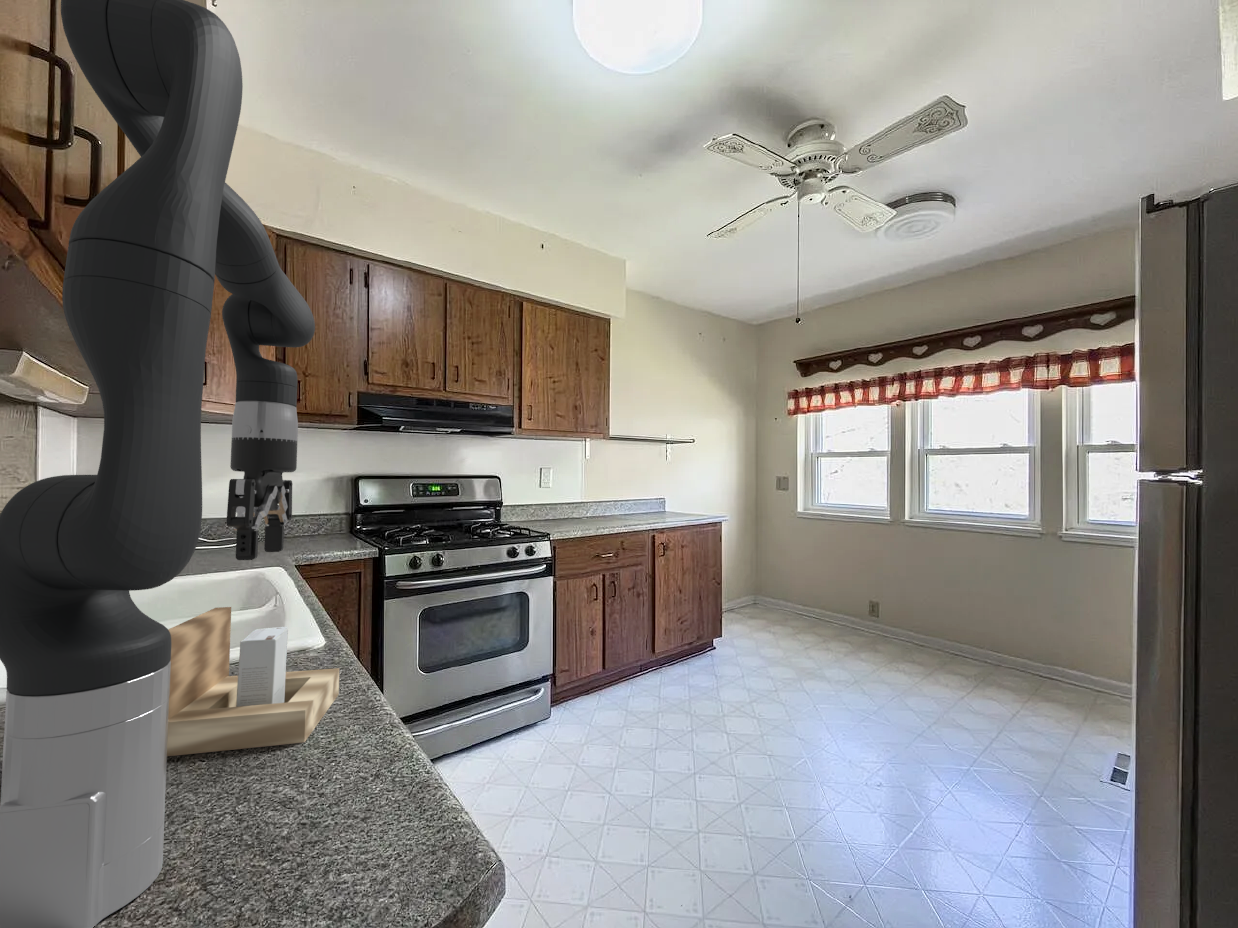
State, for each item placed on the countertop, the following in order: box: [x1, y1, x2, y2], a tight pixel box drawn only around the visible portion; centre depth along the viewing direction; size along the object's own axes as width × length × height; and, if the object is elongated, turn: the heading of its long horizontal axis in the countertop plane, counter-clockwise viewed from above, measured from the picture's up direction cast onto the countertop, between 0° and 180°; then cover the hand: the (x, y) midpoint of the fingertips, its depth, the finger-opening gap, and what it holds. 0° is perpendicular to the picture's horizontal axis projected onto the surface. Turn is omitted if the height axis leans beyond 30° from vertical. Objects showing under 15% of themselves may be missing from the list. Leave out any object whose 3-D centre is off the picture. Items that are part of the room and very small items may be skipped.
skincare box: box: [236, 626, 289, 707], centre depth 70 cm, size 6×4×12 cm
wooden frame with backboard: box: [167, 606, 340, 757], centre depth 70 cm, size 16×17×14 cm
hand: (261, 555), depth 70 cm, fingers open, 8 cm apart
